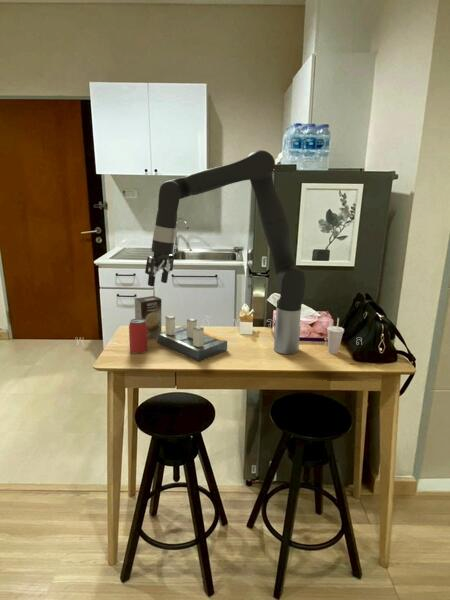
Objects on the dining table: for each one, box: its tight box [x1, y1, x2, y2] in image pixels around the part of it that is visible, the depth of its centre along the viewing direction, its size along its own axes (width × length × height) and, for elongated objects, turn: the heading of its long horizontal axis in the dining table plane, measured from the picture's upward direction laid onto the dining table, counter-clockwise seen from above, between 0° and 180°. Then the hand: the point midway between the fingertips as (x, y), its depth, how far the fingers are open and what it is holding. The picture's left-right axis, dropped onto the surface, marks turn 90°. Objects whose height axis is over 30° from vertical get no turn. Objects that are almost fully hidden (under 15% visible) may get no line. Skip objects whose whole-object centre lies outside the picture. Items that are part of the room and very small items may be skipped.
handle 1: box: [164, 315, 176, 335], centre depth 159 cm, size 2×3×7 cm
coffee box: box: [134, 295, 163, 340], centre depth 167 cm, size 9×6×16 cm
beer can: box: [128, 318, 149, 354], centre depth 152 cm, size 7×7×12 cm
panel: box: [156, 324, 228, 363], centre depth 158 cm, size 15×24×4 cm, turn 47°
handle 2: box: [193, 325, 205, 347], centre depth 149 cm, size 2×3×7 cm
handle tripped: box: [186, 317, 198, 338], centre depth 157 cm, size 2×3×7 cm
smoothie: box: [326, 317, 345, 355], centre depth 156 cm, size 6×6×14 cm
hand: (157, 284), depth 146 cm, fingers open, 8 cm apart
